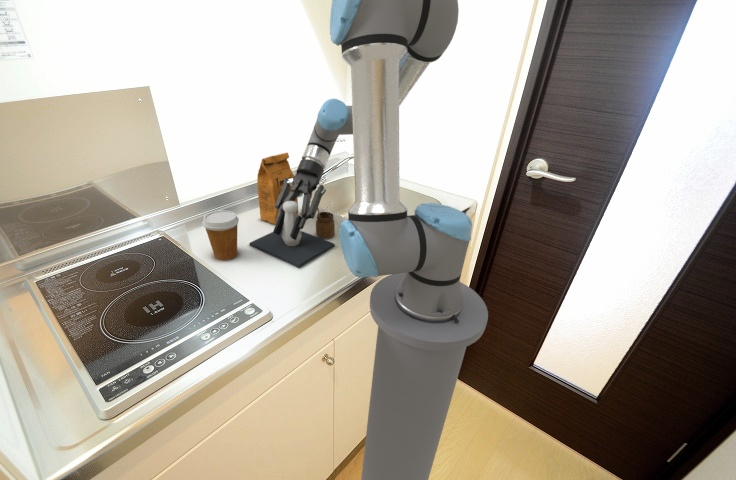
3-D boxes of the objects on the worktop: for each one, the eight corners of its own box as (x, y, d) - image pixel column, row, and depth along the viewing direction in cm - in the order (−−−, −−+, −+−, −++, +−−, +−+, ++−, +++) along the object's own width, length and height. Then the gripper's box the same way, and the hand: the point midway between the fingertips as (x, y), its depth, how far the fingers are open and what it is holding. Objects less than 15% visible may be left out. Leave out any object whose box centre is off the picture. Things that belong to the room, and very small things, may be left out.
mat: (334, 246, 111) (334, 243, 110) (299, 268, 100) (299, 265, 99) (286, 227, 121) (286, 225, 120) (249, 245, 110) (249, 242, 109)
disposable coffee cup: (234, 265, 100) (229, 225, 94) (202, 261, 102) (194, 222, 95) (248, 248, 108) (243, 211, 102) (217, 245, 110) (211, 208, 103)
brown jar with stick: (337, 237, 116) (338, 202, 110) (318, 240, 114) (318, 204, 107) (330, 229, 120) (331, 195, 114) (312, 232, 118) (312, 197, 112)
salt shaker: (279, 245, 108) (276, 204, 101) (286, 237, 113) (284, 197, 106) (297, 248, 107) (296, 207, 100) (304, 240, 112) (303, 200, 105)
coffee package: (302, 217, 128) (301, 154, 117) (275, 228, 120) (270, 161, 109) (284, 209, 134) (281, 148, 122) (256, 219, 126) (250, 155, 115)
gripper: (343, 176, 109) (316, 247, 105) (292, 166, 116) (265, 233, 112) (335, 162, 102) (306, 238, 98) (282, 153, 109) (252, 224, 105)
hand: (284, 235), depth 105 cm, fingers open, 5 cm apart
